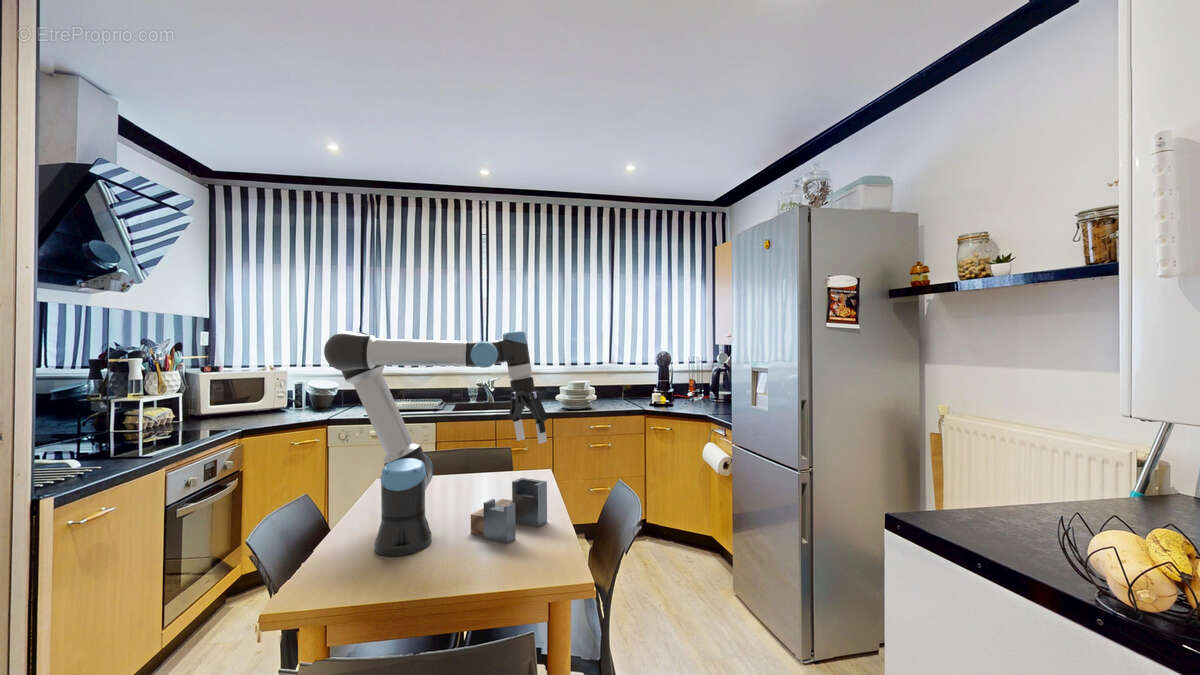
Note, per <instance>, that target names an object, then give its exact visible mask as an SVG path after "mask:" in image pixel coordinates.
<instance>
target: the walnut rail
mask: <svg viewBox="0 0 1200 675" xmlns="http://www.w3.org/2000/svg"><path fill="white" fill-rule="evenodd" d="M510 503H512V499H505V498H501V499H499V500H497V501H495V504H496V505H501V506H506V505H508V504H510ZM470 534H471V535H474V536H475V535H476V536H482V537H484V507H483V508H481V509H479V510H477V511H474V512H473V513H471V514H470Z"/></svg>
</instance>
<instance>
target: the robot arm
mask: <svg viewBox="0 0 1200 675" xmlns="http://www.w3.org/2000/svg"><path fill="white" fill-rule="evenodd" d="M323 355H324V358H325V360H326V362H327V364H329V365H330V367H331V368H333V369H335V370H338V371H341V373H342V375H343V377H344V380H345V382H346V383H349V384H352V385H353V386H354V389H355V391H356V394H357V395H358V397H359V399H360V401H361V404H362V406H363V409H364V411H365V412H366V415H367V417H368V419H369V421H370V423H371V426H372V428H373V430H374V432H375V435H376V436H377V439H378V441H379V443H380V445H381V448H382V450H383V452H384V453H385V454H384V455H385V457H384V459H383V463H382V464H383V465H384V466H383V467H382V470H381V475H380V485H381V489H380V490H381V491H380V495H381V496H380V498H381V499H380V500H381V501H380V503H381V504H380V505H381V508H380V509H381V517H380V518H381V521H380V525H379V528H378V532H377V534H376V535H377V536H376V537H375V540H374V553H376V554H377V555H380V556H385V557H400V556H401V557H402V556H407V555H411V554H412V555H413V554H416V553H417V552H421V551H423V550H425V549H426V548H428V547H429V546H430V545H431V544H432V542H433V541H432V540H433V538H432V536H433V534H432V531H431V529H430V525H429V522H428V520H427V519H428V518H427V517H426V490H427V488H428V486H429V484H430V483H431V481H432V478H433V474H434V468H433V467H434V466H433V462H432V461H431V458H429V457H428V456H427V455H426V454H425V452H424V450H423V449H422V446H421V444H419V443H416V442H414V441H413V439H412V436H411V434H410V432H409V430H408V428H407V426H406V423H405V421H404V418H403V417H402V415H401V413H400V410H399V408H398V405H397V404H396V403H397V402H395V400H394V399H395V398H394V397H393V395H392V392H391V391H390V388H389V386H388V384H387V383H388V382H387V381H386V379H385V377H384V375H383V371H384V369H385V366H404V367H405V366H411V367H417V366H418V367H419V366H420V367H468V368H485V369H486V368H490V367H492V366H493V365H497V364H501V363H502V364H504V363H506V365H507V371H508V377H509V379H511V380H510V381H509V383H510V384H509V385H510V389H511V391H512V392H510V394H509V395H510V402H509V403H510V405H509V417H508V418H509V420H512V422H513V424H514V429H515V430H514V431H515V435H516V436H515V437H516V442H519V441H521V440H522V441H523V440H525V439H526V438H525V430H524V425H523V420H522V414H523V410H524V407H526V408H527V409H528V410H529V411H530V413H531V415H532V417H533V418H534V420H535V429H536V434H537V435H536V436H537V441H538V444H539V445H540V444H541V445H542V444H543V443H548V439H547V432H546V425H545V422H546V421H548V420H549V417H548V415H547V412H546V410H545V408H544V406H543V404H542V401H541V399H540V394H539V392H538V391H532V389H533V388H535V383H534V377H533V376H532V375H533V370H532V364H531V359H530V352H529V344H528V342H527V336H526V332H525V331H523V330H516V331H515V330H514V331H509V332H504V333H502V338H500V339H497V340H490V341H486V340H485V341H484V340H483V341H482V340H481V341H472V340H471V341H468V340H467V341H466V340H428V339H424V340H423V339H396V338H389V339H388V338H377V337H376V336H375V335H373V334H371V335H370V334H368V333H365V332H361V331H348V330H347V331H340V332H337V333H335V334H333V335H332V336H330V337H329V338H328V340H327V341H326V343H325V344H324V348H323Z"/></svg>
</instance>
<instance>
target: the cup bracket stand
mask: <svg viewBox="0 0 1200 675" xmlns="http://www.w3.org/2000/svg"><path fill="white" fill-rule="evenodd" d="M511 491H512V492H511V500H512V503H510V504H508V505H506V506H501V505H496V504H495V502H496V499H495V498H491V499H490V500H489V499H488V500H487V501H485V502H483V508H484V536H483V539H484V540H488V541H492V542H496V543H501V544H505V545H508V544H509V543H511V542H513V541H515V540H516V524H519V525H525V526H530V527H534V528H535V527H536V528H539V527H541V526H543V525H545V524H547V523H548V481H547V480H541V479H540V480H538V479H534V478H533V479H532V478H525V477H520V478H518V479H515V480H513V481H512V482H511Z"/></svg>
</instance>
